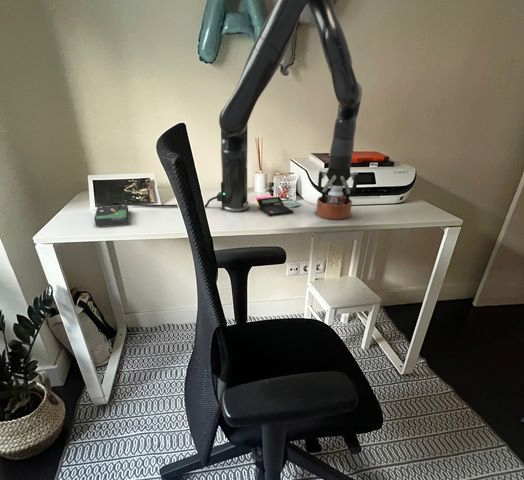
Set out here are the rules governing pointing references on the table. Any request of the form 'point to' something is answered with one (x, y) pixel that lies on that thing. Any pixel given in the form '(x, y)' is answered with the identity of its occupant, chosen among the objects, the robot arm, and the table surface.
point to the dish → (333, 209)
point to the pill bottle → (335, 195)
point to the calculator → (273, 206)
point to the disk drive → (111, 215)
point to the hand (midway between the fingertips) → (334, 203)
